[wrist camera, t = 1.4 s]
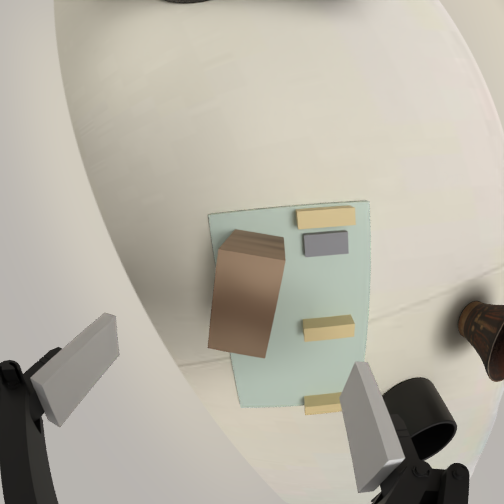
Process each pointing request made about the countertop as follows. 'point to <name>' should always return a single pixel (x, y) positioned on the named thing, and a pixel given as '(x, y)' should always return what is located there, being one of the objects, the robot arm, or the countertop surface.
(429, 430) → the mug
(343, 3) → the countertop surface
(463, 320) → the cup
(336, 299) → the wall board
